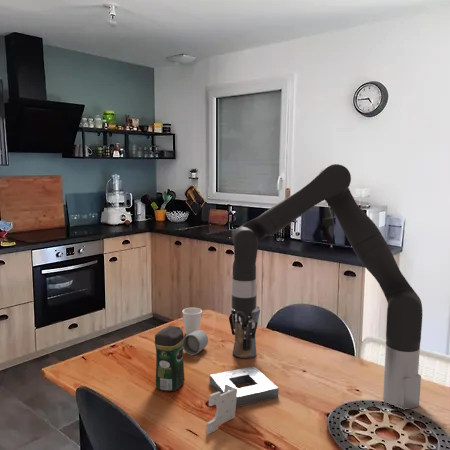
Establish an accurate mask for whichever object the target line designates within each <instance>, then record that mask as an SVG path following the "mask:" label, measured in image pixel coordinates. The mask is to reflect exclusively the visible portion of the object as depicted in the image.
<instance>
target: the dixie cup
mask: <svg viewBox="0 0 450 450" xmlns="http://www.w3.org/2000/svg"><path fill="white" fill-rule="evenodd" d="M181 312H182V317H183V318H182V319H183V323H184V324H183V327H184V331H185V336H186V335H188V334H190V333H192V332H194V331H197V330H200V329H201V323H202V322H201V321H202V313H203V310H202V309H201V308H199V307H187V308H184V309H182V311H181Z"/></svg>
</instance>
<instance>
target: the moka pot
mask: <svg viewBox="0 0 450 450" xmlns="http://www.w3.org/2000/svg"><path fill="white" fill-rule="evenodd" d="M260 312H261V309H260V306H257V305H256V309H255V310H253V311H252V317H253V319H252V320H253V321H254V322H255V321H257V326H258V324H259V318H260ZM228 322H229V325H230V329H231V330H230V331H231V334H232V336H235V329H233V322H232V314H231V313H230V315H229V317H228ZM257 329H258V327H257V328H256V330H257ZM256 340H257V339H256V337H255V338H253V339H252V356H247V357H242V358H243V359H248V358H249V359H251V358H254V357H255V356H257V342H256ZM232 354H233V355H234V356H235V357H238V358H240V357H239V356H238V355H237V354H236V353H235V342H234V344H233V349H232Z"/></svg>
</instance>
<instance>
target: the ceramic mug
mask: <svg viewBox="0 0 450 450" xmlns="http://www.w3.org/2000/svg"><path fill="white" fill-rule="evenodd" d="M183 337H184V339H183V352H185V353H186V354H188V355H190V354H191V355H190V356H196V355H198V354H199V353H200V352H201V351H202V350H204V349H205V348H206V347H207V345H208V343H209V337H208V335H207V333H206V332H205V331H203V330H197V331H194V332H192V333H190V334H188V335H186V334H185V336H183Z"/></svg>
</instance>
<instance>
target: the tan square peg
mask: <svg viewBox="0 0 450 450" xmlns="http://www.w3.org/2000/svg"><path fill="white" fill-rule="evenodd" d="M241 328H242V327H241V325H240V323H239V322H235V329H234V332H235V335H234V343H235V353H236V354H237V355H238V356H239V357H238V358H242V357H247V356H252V339H251V346H250V350H248V351H244V350H243V331H241ZM245 328H247V327H244V329H245ZM246 332H247V331H246Z"/></svg>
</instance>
